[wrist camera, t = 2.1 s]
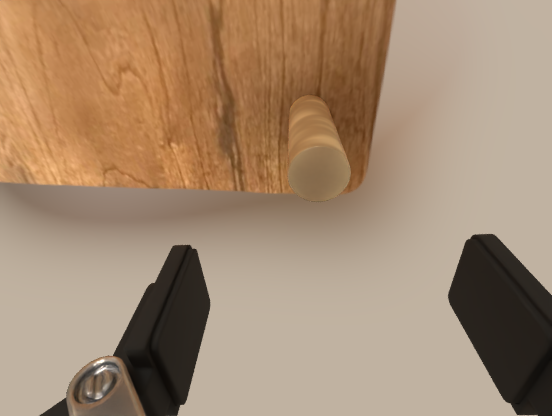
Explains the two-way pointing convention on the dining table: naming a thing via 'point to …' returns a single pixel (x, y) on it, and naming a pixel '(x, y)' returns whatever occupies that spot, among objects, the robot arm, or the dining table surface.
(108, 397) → the robot arm
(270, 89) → the dining table surface
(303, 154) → the beige marbled cylinder
